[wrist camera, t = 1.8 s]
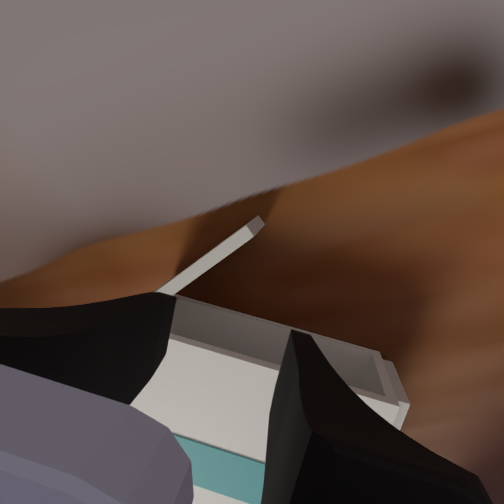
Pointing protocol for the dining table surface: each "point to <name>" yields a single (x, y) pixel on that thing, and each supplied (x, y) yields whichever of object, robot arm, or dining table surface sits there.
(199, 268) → the flap
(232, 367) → the carton
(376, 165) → the dining table surface
